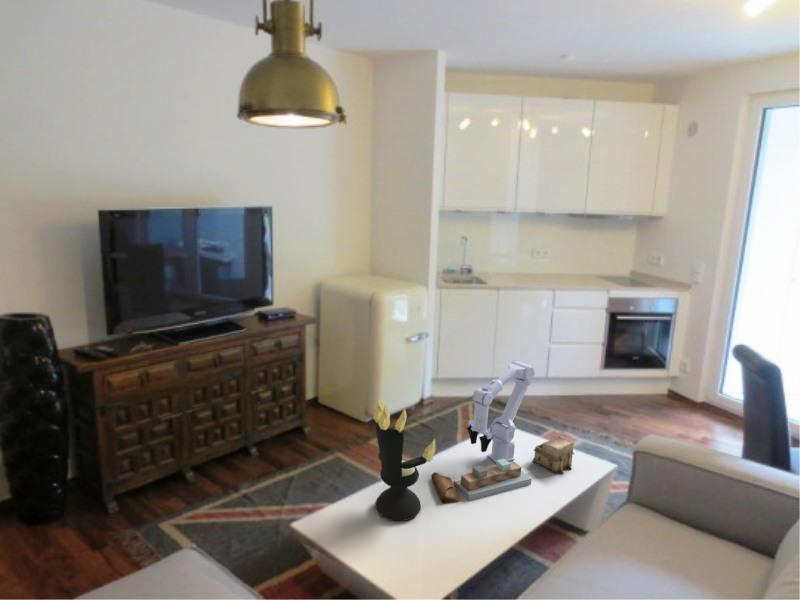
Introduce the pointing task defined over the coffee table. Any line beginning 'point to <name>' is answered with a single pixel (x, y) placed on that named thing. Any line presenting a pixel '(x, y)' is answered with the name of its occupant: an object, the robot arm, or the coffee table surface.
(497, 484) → the dock
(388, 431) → the candelabra
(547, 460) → the ornate brown chest
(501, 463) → the teal square block
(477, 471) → the crate
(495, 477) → the wooden plank
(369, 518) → the coffee table surface
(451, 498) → the sunglasses case
